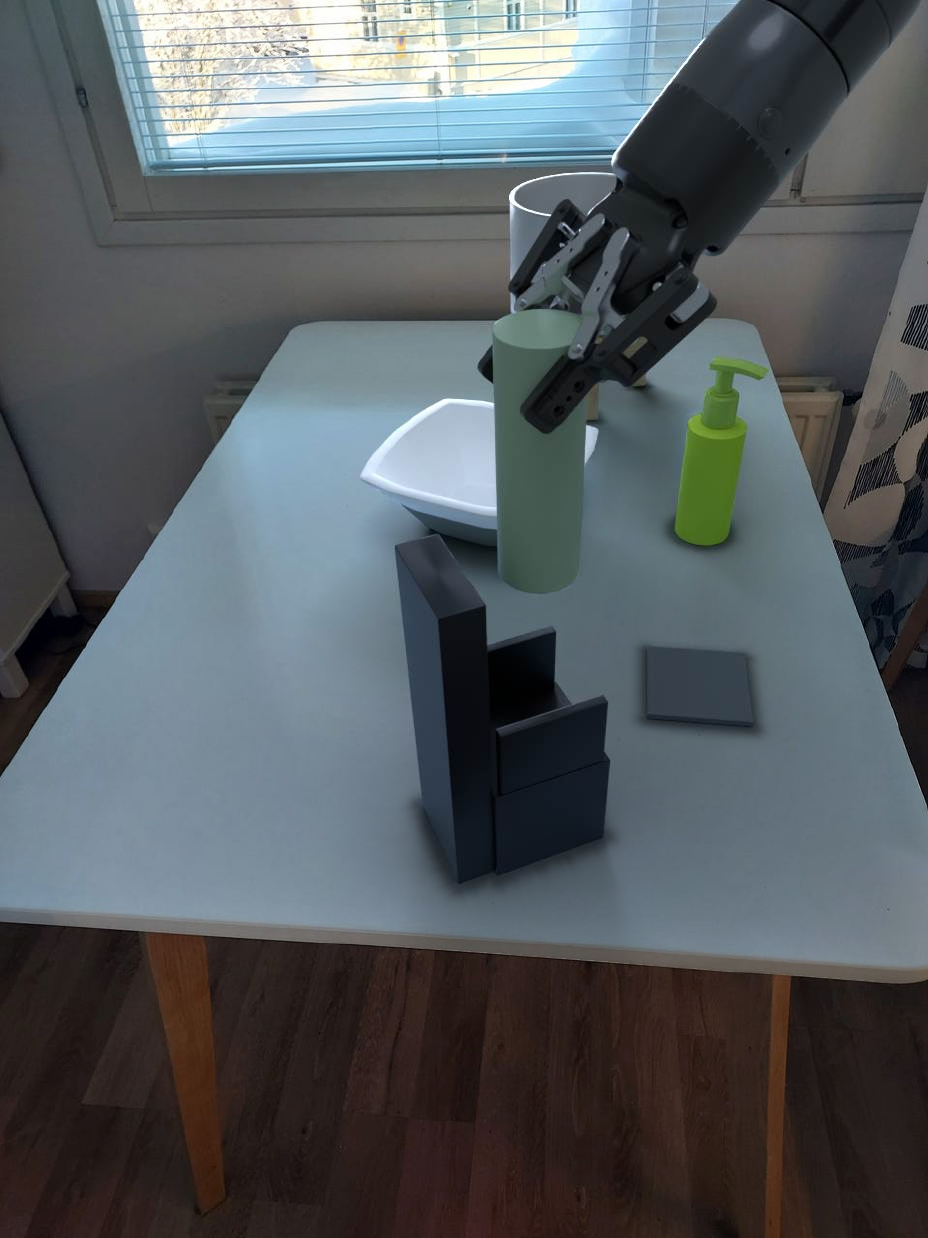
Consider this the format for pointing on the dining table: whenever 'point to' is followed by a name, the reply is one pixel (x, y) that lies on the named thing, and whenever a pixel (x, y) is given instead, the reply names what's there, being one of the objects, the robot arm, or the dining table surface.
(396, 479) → the bowl
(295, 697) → the dining table surface
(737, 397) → the soap dispenser
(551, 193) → the planter
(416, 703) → the navy chair block
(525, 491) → the green cylinder
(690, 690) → the coaster
